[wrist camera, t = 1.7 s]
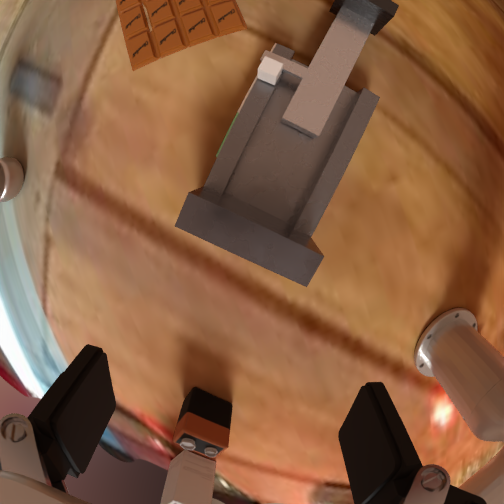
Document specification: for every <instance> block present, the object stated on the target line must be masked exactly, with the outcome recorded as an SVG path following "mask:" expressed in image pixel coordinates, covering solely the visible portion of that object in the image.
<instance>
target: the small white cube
mask: <svg viewBox="0 0 504 504" xmlns="http://www.w3.org/2000/svg"><path fill="white" fill-rule="evenodd" d="M282 68H283V63H280V62H278V61H276V60H273V59H271V58H269V57H266V56H265V57H264V59H263V60H262V62H261V64H260V66H259V68H258V78H259V79H261V80H263V81H266V82H268V83H270V84H272V85H275V84H276V82H277V80H278V78H279V76H280V74H281V72H282Z"/></svg>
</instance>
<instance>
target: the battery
mask: <svg viewBox="0 0 504 504" xmlns="http://www.w3.org/2000/svg"><path fill="white" fill-rule="evenodd" d="M231 415H232V404H231V403H229V402H227V401H225V400H222V399H220V398H218V397H216V396H213V395H211V394H209V393H207V392H205V391H203V390H201V389H199V388H196V387H194V388H193V389H192V390H191V392H190V393H189V394H188V396H187V397H186V398H185V400H184V402H183V405H182V408H181V412H180V415H179V419H178V422H177V426H176V429H175V433H174V436H173V442H174V443H176V444H178V445H180V446H181V447H182V448H184V449H186V450H192V451H195V452H198V453H200V454H203V455H205V456H208V457H211V458H216V457H217V456H218V455H219V454H221V453H222V452H223V451H224V450H225V449H227V448H228V444H229V434H230V424H231Z"/></svg>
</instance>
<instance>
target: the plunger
mask: <svg viewBox="0 0 504 504" xmlns="http://www.w3.org/2000/svg"><path fill="white" fill-rule="evenodd" d="M398 6H399V5H397V4H396V3H394V2H392V1H391V0H335V1H334V3H333V5H332V7H331V9H330V11H329V12H331V13H333V14H336V15H337V16H336V18H335V20H334V21H333V23H332V25H331V27H330V29H329V30H328V32H327V34H326V36H325V38H324V39H323V41H322V43H321V45H320V47H319V49H318V50H317V52H316V54H315V56H314V58H313V60H312V62H311V63H310V65H309V67H308V68H305V67H303V66H301V65H299V64H297V63H295V62H293V61H290V60H288V59H286V58H284V57H281V56H279V55H277V54H274V53H272V52H269V51H267V50H265V52H264V53H263V55H262V57H261V59H260V62H262V60H263V59H264V57H265V56H266V57H269V58H271V59H273V60H276V61H278V62H280V63H283V68H282V71H283V72H285V73H287V74H290V75H292V76H294V77H296V78H298V79H300V80H301V82H300V84H299V86H298V88H297V90H296V92H295V94H294V96H293V98H292V99H291V101H290V103H289V105H288V107H287V109H286V111H285V113H284V115H283V117H282V119H281V121H280V122H283V123H285V124H287V125H289V126H291V127H293V128H295V129H297V130H299V131H301V132H303V133H305V134H307V135H309V136H310V137H312V138H316V137H318V136H319V135H320V133H321V131H322V129H323V127H324V125H325V123H326V121H327V119H328V117H329V115H330V113H331V111H332V109H333V107H334V105H335V103H336V101H337V99H338V97H339V95H340V93H341V91H342V89H343V87H344V85H345V83H346V81H347V79H348V77H349V75H350V72H351V70H352V68H353V66H354V64H355V62H356V60H357V58H358V56H359V54H360V52H361V50H362V48H363V46H364V44H365V42H366V40H367V38H368V36H369V34H370V33H371V34H373V35H374V36H375V35H376V34H377V33H378V32H379V31H380V30H381V29H382V28H383V27H384V26H385V25H386V24H387V23H388V22H389V21H390V20H391V19H392V18H393V17H394V15H395V13H396V11H397V8H398Z"/></svg>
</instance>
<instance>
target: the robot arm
mask: <svg viewBox="0 0 504 504" xmlns="http://www.w3.org/2000/svg"><path fill="white" fill-rule="evenodd" d="M414 361H415V365H416V367H417V369H418V370H419V371H420V373H422V374H423V375H425V376H431V377H433V376H435V377H436V379H437V380H438V382H439V383H440V384H441V386H442V387H443V389H444V390H445V392H446V393H447V395H448V396H449V398H450V399H451V401H452V402H453V404H454V405H455V407H456V408H457V410H458V411H459V413H460V414H461V416H462V417H463V419H464V420H465V422H466V423H467V425H468V426H469V428H470V430H471V431H472V433H473V434H474V435H475V436H476V437H477V438H479V439H481V440H484V441H492V442H495V441H502V442H504V357H503V356H502V355H501V354H500V353H499V352H498V351H497V350H496V349H495V348H494V347H493V346H492V345H491V344H490V343H489V342H488V341H487V340H486V339H485V338H484V337H483V336H482V335H481V334H480V333H479V332H478V331H477V320H476V318H475V316H474V315H473V314H472V313H471V312H470V311H469V310H467V309H464V308H455V309H451V310H449V311H447V312H445V313H443V314H441V315H440V316H438V317H437V318H436V319H435V320H434V321H433V322H432V323H431V324H430V325H429V326H428V327H427V328H426V330H425V331H424V333H423V334H422V336H421V337H420V339H419V341H418V344H417V346H416V349H415V353H414ZM115 407H116V401H115V396H114V392H113V387H112V382H111V377H110V371H109V366H108V360H107V355H106V353H103V350H102V348H99V347H96V346H92V345H89V344H87V345H86V346H85V347H84V348H83V349H82V350H81V352H80V353H79V354H78V355H77V357H76V358H75V359H74V360H73V361H72V363H71V364H70V365H69V366H68V368H67V369H66V370H65V372H63V373H61V374H60V376H59V377H58V378H57V379H56V381H55V382H54V383H53V385H52V386H51V387H50V388H49V390H48V391H47V392H46V394H45V395H44V396H43V398H42V399H41V400H40V402H39V403H38V404H37V406H36V407H35V408H34V410H33V411H32V412H31V414H30V415H29V417H28V418H26V417H25V416H23V415H20V414H9V415H6V416H5V417H3V418H2V419H1V420H0V504H91V503H88V502H85V501H83V500H81V499H78V498H76V497H74V496H71V495H70V494H69V492H68V489H67V487H66V484H65V481H64V479H65V477H66V475H67V474H69V475H71V476H73V477H76V478H78V476H79V474H80V473H84V472H85V470H86V468H87V466H88V464H89V462H90V460H91V458H92V455H93V453H94V451H95V449H96V447H97V445H98V443H99V441H100V439H101V437H102V435H103V433H104V431H105V428H106V426H107V424H108V422H109V420H110V418H111V416H112V414H113V412H114V410H115ZM339 442H340V446H341V450H342V454H343V458H344V462H345V466H346V470H347V474H348V478H349V482H350V487H351V491H352V495H353V500H354V504H504V446H503V448H502V449H501V450H500V451H499V452H498V453H497V454H496V456H494V457H493V458H492V459H491V460H490V461H489V462H488V463H487V464H486V465H485V466H483V467H482V468H481V469H480V470H479V471H478V472H476V473H475V474H474V475H473V476H472V477H471V478H469V479H468V480H467V481H466V482H464V483H463V484H462V485H461V486H460V487H459V488H457V487H454V486H452V485H450V476H449V474H448V473H447V471H446V470H445V469H444V468H442V467H440V466H439V465H434V464H430V465H426V466H422V464H421V461H420V459H419V457H418V455H417V452H416V450H415V448H414V446H413V443H412V441H411V439H410V437H409V435H408V433H407V431H406V428H405V426H404V424H403V422H402V420H401V418H400V416H399V414H398V412H397V410H396V408H395V406H394V404H393V402H392V400H391V398H390V396H389V394H388V392H387V390H386V388H385V386H384V384H383V383H382V382H368V383H366V384H365V386H362V387H361V389H360V391H359V393H358V395H357V397H356V399H355V401H354V403H353V405H352V407H351V409H350V411H349V413H348V415H347V417H346V419H345V421H344V423H343V425H342V427H341V428H340V430H339Z"/></svg>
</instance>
